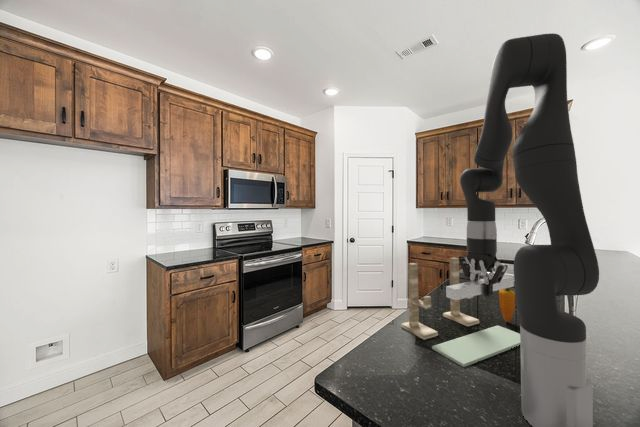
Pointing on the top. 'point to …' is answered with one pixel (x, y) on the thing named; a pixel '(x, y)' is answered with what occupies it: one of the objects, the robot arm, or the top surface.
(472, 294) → the rail
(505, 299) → the carrot
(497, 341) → the mat
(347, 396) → the top surface
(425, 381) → the top surface
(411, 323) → the hook stands
